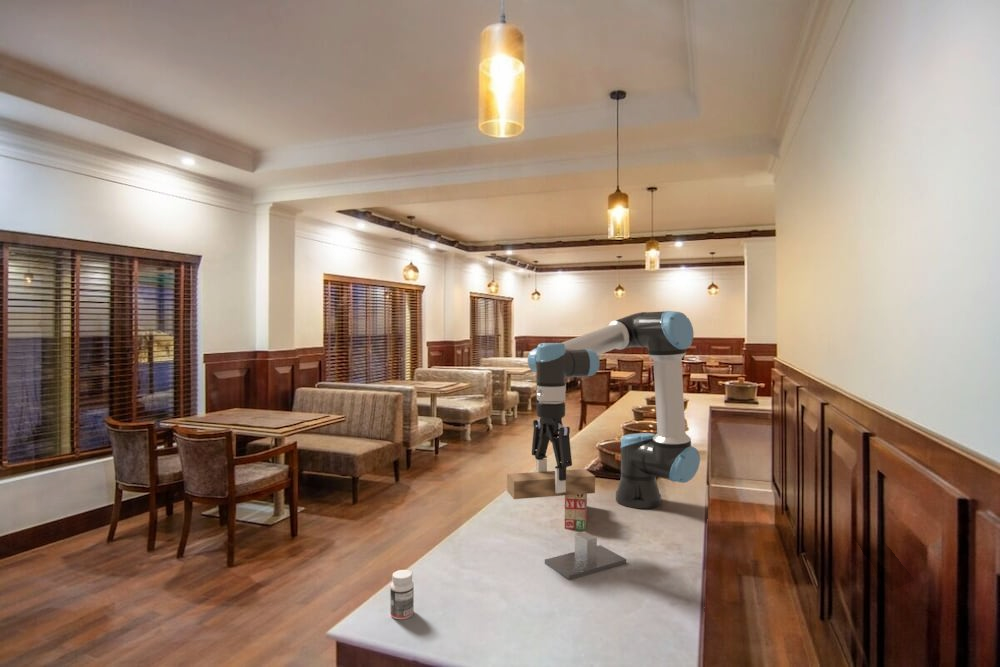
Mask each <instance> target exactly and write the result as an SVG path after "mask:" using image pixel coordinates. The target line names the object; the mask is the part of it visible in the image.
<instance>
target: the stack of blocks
mask: <svg viewBox="0 0 1000 667" xmlns="http://www.w3.org/2000/svg"><path fill="white" fill-rule="evenodd" d="M587 511H588V494H576V495H564V529H566V530H568V529H569V530H579V531H581V530H582V531H586V529H587V528H586V527H587Z"/></svg>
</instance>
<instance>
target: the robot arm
mask: <svg viewBox="0 0 1000 667" xmlns="http://www.w3.org/2000/svg"><path fill="white" fill-rule="evenodd" d="M694 333H695V332H694V328H693V324H692V321H691V320H690V318H689V317H688V316H687V315H686V314H685V313H683V312H682V311H675V310H674V311H673V310H672V311H671V310H666V311H664V310H663V311H644V312H643V311H642V312H641V311H640V312H635V313H633V314H629V315H627V316H624V317H621V318H619V319H616V320H613V321H611V322H609V323H608V324H607V326H605V327H603V328H599V329H597V330H594V331H591V332H588V333H585V334H582V335H579V336H578V337H574V338H570V339H568V340H565V341H563V342H542V343H538V345H537V347H536V348H533V349H532V350H530V352H529V353H528V355H527V364H528V368H529V369H530V370H531V371H532V372H533V373H535V374H536V400H537V403H536V416H537V417H538V418H539V419H534V420H533V421H532V422H533V423H532V424H533V435H532V443H531V444H532V445H531V455H532V456H534V458H535V459H536V472H547V471H548V459H547V458H548V456H547V455H546V454H547V452H548V451H547V450H548V447H549V443H551V444H552V449H553V453H554V458H555V461H556V462H555V463H556V466H554V468H555V469H554V471H555V493H563V492H566V470H567V467H572V466H573V460H572V450H571V440H570V431H571V429H570V426H564V424H563V421H562V419H563V418H564V417H565V416H566V403H565V400H566V379H569V378H582V377H584V378H587V377H592V376H595V375H596V374H597V373H598V371H599V370H600V357H599V355H600V356H601V355H602V354H604V353H605V354H606V353H607V352H608V353H609V352H610V351H612V350H615V349H616V350H624V349H627V348H645V349H647V355H648V356H649V357H650V358H651V359H652V362H653V378H654V396H655V411H656V412H655V414H656V415H655V416H656V431H657V433H651V432H650V433H649V432H640V433H639V432H638V433H628V434H625V435H623V436H622V437H621V441H620V480H619V482H618V487H617V490H616V491H615V501H616V502H617V503H618V504H620V505H621V506H625V507H627V508H628V507H629V508H634V509H653V508H658V507H660V506H661V505H662V495H661V494H660V488H659V486H658V483H657V478H661V479H664V480H669V481H671V482H673V483H674V482H675V483H676V482H677V483H683V484H684V483H688V482H689V481H691V480H692V479H693V478H694V477H695V476H696V474H697V472H698V471H699V467H700V462H701V454H700V452H699V451H698V449H697V448H696V447H695V446H692V439H691V438H692V437H690V436H689V435H688V434H687V433H686V420H685V418H686V417H685V401H684V382H683V381H684V380H683V366H682V365H683V363H682V362H683V360H682V359H683V358H684V356H686V354H687V349H688V348H690V346H691V345H692V343H693V340H694Z"/></svg>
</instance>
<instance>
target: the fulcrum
mask: <svg viewBox="0 0 1000 667" xmlns="http://www.w3.org/2000/svg"><path fill="white" fill-rule="evenodd" d="M544 564H545V565H546V566H548V567H549V568H550V569H552V570H554V571H555V572H556V573H558V574H559V575H561V576H563V577H564V578H566V579H567V580H568V581H569V580H573V579H577V578H580V577H584V576H587V575H590V574H594V573H597V572H600V571H601V572H602V571H605V570H608V569H611V568H615V567H617V566H621V565H625V564H627V559H626V558H625V557H623V556H621V555H620V554H618V553H617V552H614V551H612V550H610V549H608V548H607V547H605V546H603V545H601V544H599V545H598V538H597V537H596V536H594V535H592V534H591V533H588V532H586V530H582V531H579V532H575V533H574V551H573V552H569V553H564V554H561V555H557V556H553V557H549V558H545V559H544Z"/></svg>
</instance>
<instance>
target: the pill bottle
mask: <svg viewBox="0 0 1000 667" xmlns="http://www.w3.org/2000/svg"><path fill="white" fill-rule="evenodd" d="M391 580H392V582H391V584H390V592H389V593H390V595H389V596H390V616H391V617H392V619H395V620H406V619H409V618H410V617H412V616H413V614H414V611H415V610H414V608H415V606H414V605H415V604H414V602H415V600H414V598H415V597H414V596H415V595H414V592H415V591H414V588H415V587H414V585H415V584H414V581H413V572H412V571H410V570H408V569H398V570H396V571H394V572H393V573H392V578H391Z"/></svg>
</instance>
